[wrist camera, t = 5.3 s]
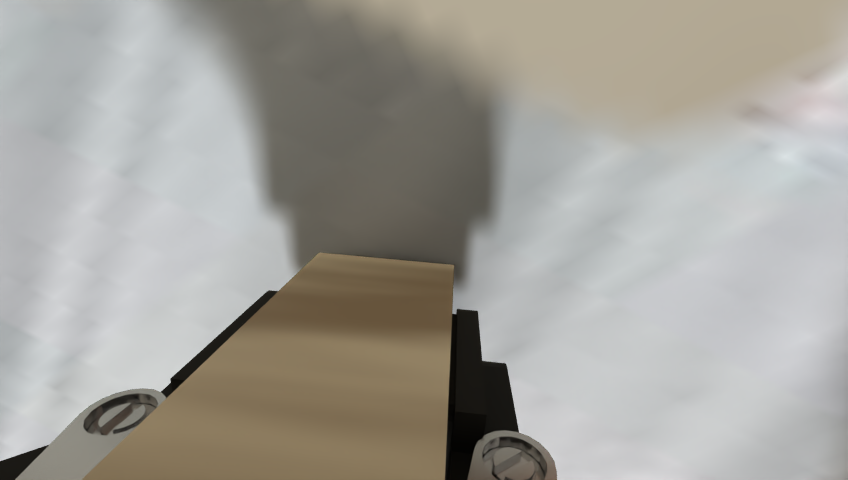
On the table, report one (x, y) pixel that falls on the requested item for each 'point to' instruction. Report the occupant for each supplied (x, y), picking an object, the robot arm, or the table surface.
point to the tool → (314, 385)
